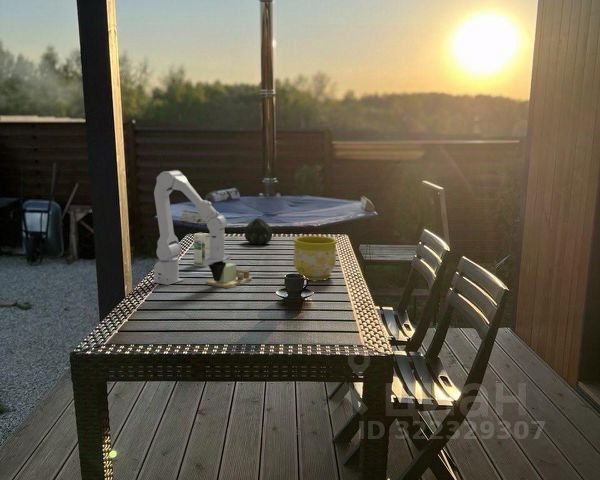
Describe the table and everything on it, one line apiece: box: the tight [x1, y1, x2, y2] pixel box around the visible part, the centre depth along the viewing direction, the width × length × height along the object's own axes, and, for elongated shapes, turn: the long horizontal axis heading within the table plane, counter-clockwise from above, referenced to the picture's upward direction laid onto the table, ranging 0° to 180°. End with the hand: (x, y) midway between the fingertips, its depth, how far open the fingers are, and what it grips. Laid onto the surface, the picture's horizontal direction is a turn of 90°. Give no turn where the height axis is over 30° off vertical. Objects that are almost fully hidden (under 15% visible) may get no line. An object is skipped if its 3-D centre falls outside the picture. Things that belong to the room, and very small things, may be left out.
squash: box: [244, 218, 273, 246], centre depth 319 cm, size 14×15×15 cm
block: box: [217, 262, 237, 283], centre depth 234 cm, size 8×4×6 cm, turn 149°
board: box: [205, 268, 253, 289], centre depth 236 cm, size 16×11×4 cm
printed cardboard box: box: [193, 232, 210, 268], centre depth 264 cm, size 6×6×14 cm
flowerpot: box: [293, 235, 338, 280], centre depth 246 cm, size 18×18×16 cm
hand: (216, 280), depth 230 cm, fingers closed
